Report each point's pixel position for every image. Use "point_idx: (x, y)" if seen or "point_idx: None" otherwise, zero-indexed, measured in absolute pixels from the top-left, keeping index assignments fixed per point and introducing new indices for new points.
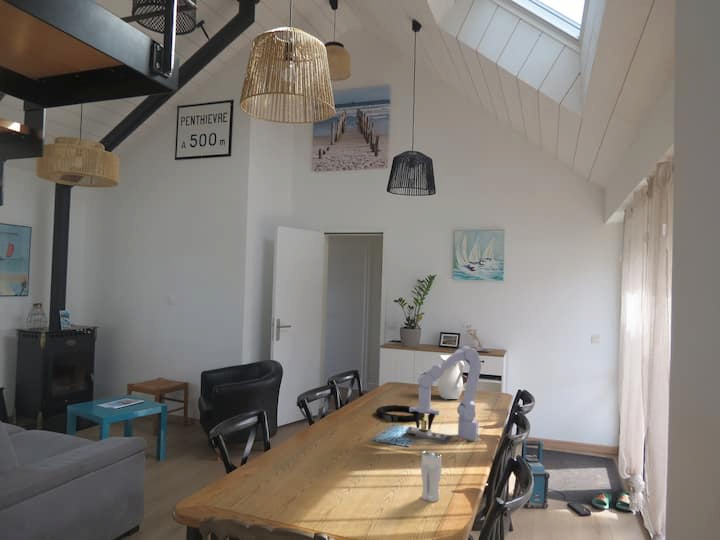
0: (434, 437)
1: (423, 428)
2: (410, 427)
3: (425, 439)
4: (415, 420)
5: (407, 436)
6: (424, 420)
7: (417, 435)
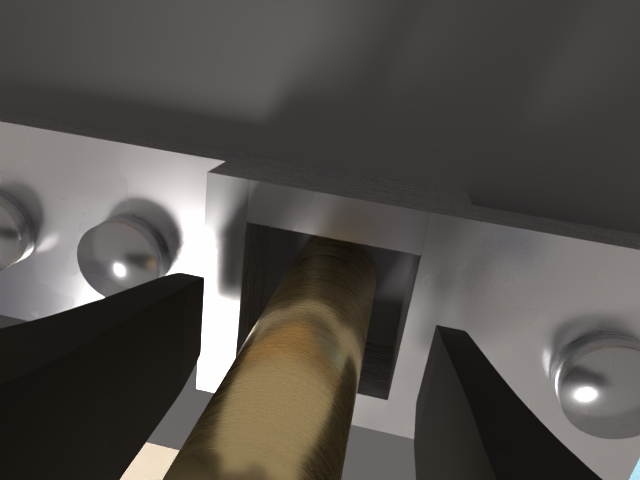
0: (108, 136)
1: (302, 295)
2: (624, 370)
3: (262, 61)
4: (554, 443)
5: (635, 126)
6: (219, 427)
7: (430, 191)
